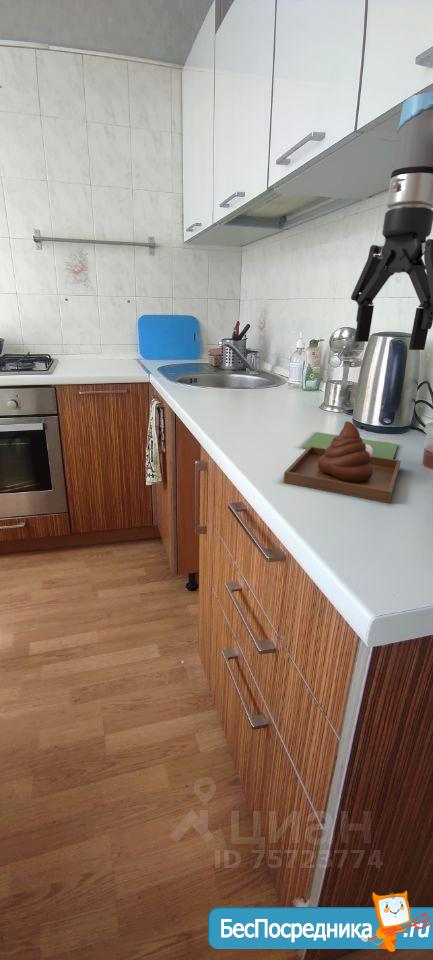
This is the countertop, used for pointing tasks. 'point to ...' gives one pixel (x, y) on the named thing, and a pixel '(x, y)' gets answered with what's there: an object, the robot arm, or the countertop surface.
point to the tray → (373, 488)
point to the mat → (378, 447)
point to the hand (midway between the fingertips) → (387, 345)
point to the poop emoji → (347, 456)
